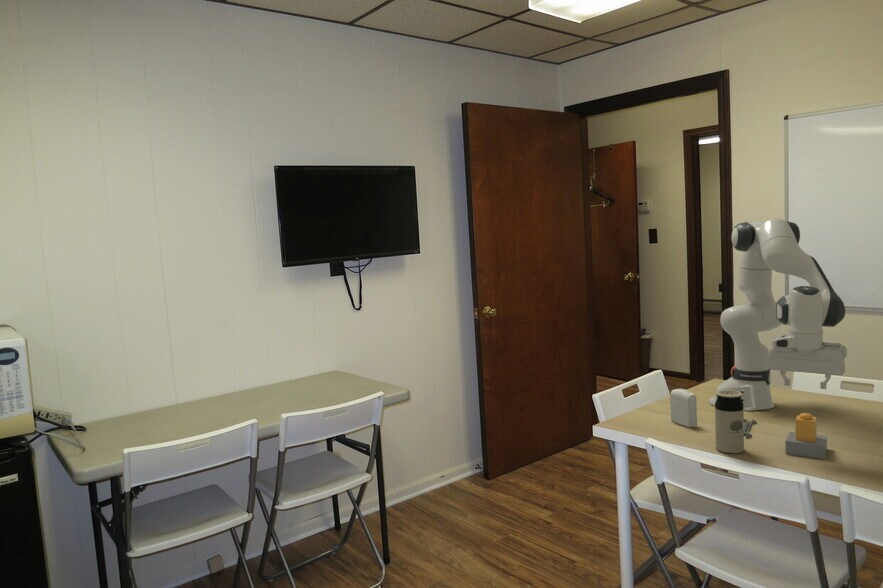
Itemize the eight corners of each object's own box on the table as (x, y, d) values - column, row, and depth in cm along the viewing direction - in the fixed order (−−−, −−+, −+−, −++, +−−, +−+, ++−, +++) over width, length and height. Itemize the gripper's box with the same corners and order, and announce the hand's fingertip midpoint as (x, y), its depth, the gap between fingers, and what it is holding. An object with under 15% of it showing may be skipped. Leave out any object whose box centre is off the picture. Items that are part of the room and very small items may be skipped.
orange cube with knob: (795, 439, 192) (795, 415, 191) (797, 434, 196) (797, 411, 195) (814, 441, 189) (814, 417, 188) (816, 437, 193) (816, 413, 193)
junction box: (785, 453, 192) (785, 426, 191) (789, 444, 200) (789, 417, 199) (824, 459, 186) (824, 430, 185) (826, 448, 194) (826, 421, 193)
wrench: (751, 440, 206) (757, 423, 223) (751, 434, 206) (757, 418, 223) (735, 439, 209) (742, 423, 226) (734, 434, 209) (741, 418, 226)
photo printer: (669, 421, 230) (668, 387, 229) (678, 419, 231) (677, 385, 230) (689, 428, 220) (688, 393, 219) (699, 426, 222) (698, 391, 221)
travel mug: (712, 445, 202) (711, 390, 201) (738, 445, 201) (737, 389, 200) (720, 454, 194) (719, 396, 193) (747, 453, 193) (747, 395, 192)
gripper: (847, 341, 186) (846, 388, 188) (769, 337, 198) (769, 381, 200) (846, 345, 181) (845, 393, 183) (766, 341, 193) (766, 385, 195)
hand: (805, 386), depth 191 cm, fingers open, 8 cm apart
